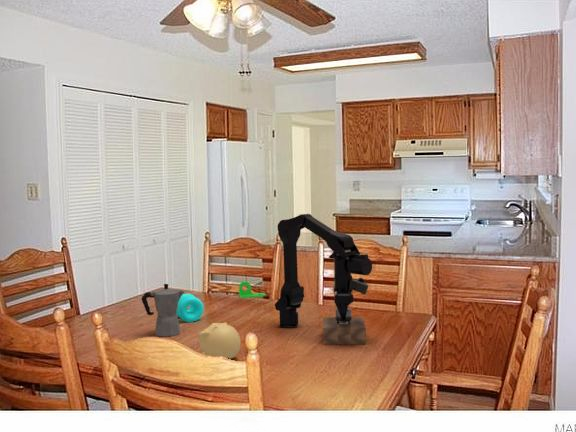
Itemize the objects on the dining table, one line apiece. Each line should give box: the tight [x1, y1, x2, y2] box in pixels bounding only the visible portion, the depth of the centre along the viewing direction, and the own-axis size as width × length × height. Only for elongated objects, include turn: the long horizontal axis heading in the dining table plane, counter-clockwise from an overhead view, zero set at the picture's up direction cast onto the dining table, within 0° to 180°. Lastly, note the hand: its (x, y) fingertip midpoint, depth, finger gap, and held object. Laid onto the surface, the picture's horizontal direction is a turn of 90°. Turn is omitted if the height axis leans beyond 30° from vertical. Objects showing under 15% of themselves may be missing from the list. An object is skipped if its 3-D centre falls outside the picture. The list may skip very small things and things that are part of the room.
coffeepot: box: [141, 283, 185, 338], centre depth 198 cm, size 15×9×18 cm, turn 116°
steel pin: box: [334, 307, 352, 324], centre depth 187 cm, size 5×5×8 cm
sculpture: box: [198, 322, 241, 360], centre depth 169 cm, size 12×12×11 cm
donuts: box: [176, 293, 205, 323], centre depth 217 cm, size 10×10×10 cm
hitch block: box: [322, 316, 367, 345], centre depth 187 cm, size 14×14×6 cm
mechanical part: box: [238, 280, 266, 299], centre depth 256 cm, size 12×6×8 cm, turn 100°
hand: (343, 318), depth 187 cm, fingers closed on steel pin, 5 cm apart
